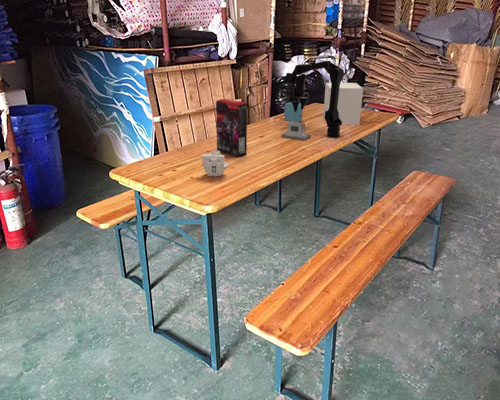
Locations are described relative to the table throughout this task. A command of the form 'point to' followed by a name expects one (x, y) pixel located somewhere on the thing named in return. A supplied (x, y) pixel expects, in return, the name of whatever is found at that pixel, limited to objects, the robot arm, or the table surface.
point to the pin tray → (302, 138)
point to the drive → (296, 128)
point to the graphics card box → (231, 127)
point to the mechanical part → (214, 163)
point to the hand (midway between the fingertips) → (298, 110)
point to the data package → (292, 113)
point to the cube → (346, 102)
